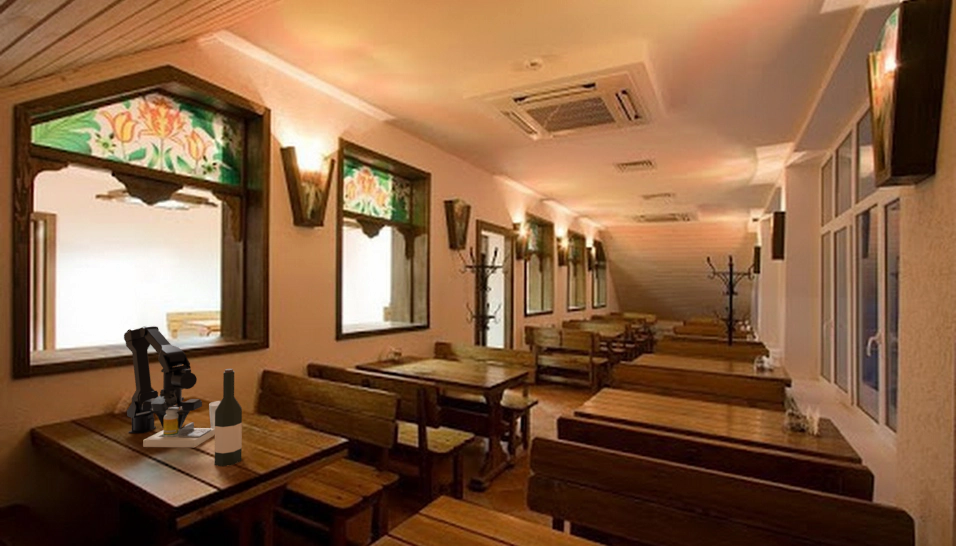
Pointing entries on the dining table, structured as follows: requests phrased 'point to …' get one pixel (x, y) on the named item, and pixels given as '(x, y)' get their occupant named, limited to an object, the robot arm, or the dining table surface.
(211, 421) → the white cup
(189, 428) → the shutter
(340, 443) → the dining table surface
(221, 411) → the wine bottle
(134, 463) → the dining table surface
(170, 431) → the supplement bottle
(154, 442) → the socket board
